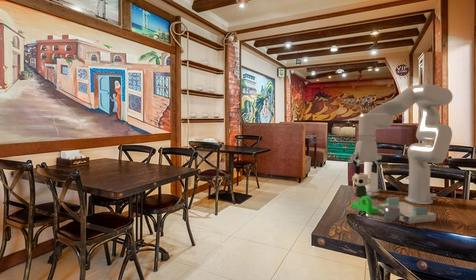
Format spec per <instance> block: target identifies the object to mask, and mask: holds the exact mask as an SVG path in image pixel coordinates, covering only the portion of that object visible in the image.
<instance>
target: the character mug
mask: <svg viewBox="0 0 476 280" xmlns="http://www.w3.org/2000/svg"><path fill="white" fill-rule="evenodd" d="M351 180H352V182H354V183H353V184H355V191H354V194H355V195H356V196H358V197H362V196H368V194H367V193H368V192H366V187H365V186H366V185H367V184H370V179H369V178H368V174H365V173H364V172H360V174H356V173H354V175H352V179H351ZM355 195H354V196H355Z"/></svg>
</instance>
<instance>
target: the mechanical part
mask: <svg viewBox="0 0 476 280" xmlns="http://www.w3.org/2000/svg"><path fill="white" fill-rule="evenodd" d="M350 206H351V208H354V209H356V210H358V209H359V210H358V211H360V210H362V211H361V212H363V211H365V212H366V213H365V212H364V213H365V214H368V215H370V214H378V213H380V212H379V207H378V208H377V207H374V206H373V201H372V199H371V197H370V195H366V196H360V199H359V201H358V202H351V203H350Z"/></svg>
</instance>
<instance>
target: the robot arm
mask: <svg viewBox="0 0 476 280" xmlns="http://www.w3.org/2000/svg"><path fill="white" fill-rule="evenodd" d="M453 96H454V95H453V93H452V91H451V90H450V89H448V88H446V87H442V86H439V85H435V84H431V83H423V84H416V85H411V86H410V85H409V86H408V87H407V88H405V89H404V90H403V91H402V92H400V93H399V94H398V95H397V96H395V97H394V98H392V99H390V100H388V101H386V102H384V103H382V104H379V105H377V106H375V107H374V108H373V109H371V110H370V111H368V112H367V113H360V115H359V116H358V134H357V135H358V138H357V141H356V143H355V148H354V154H353V155H350V156H349V159H350V162H351V163H352V165H353V166H354V168H353V169H354V170H353V171H354V174H355V173H356V174H360V173H361V172H360V171H361V163H364V162H372V163H373V164H372V169H371V172H373V173H377V165H378V166H379V165H380V162H381V160H382V158H383V156H382V155H381V154H379V153H378V144H377V141H376V140H377V138H378V136H376V133H377V132H376V130H377V129H387V128H390V127H391V126H392V124H393V123H394V119H393V116H396V115H399V114H403V113H405V112H406V111H407V110H409V109H410V108H411V107H413V106H414V105H415V104H416V105H417V107H418V108H419V110H420V111H419V112H420V118H419V122H418V126H417V129H416V134H415V137H416V139H417V140H418V141H421V142H422V143H421V142H416V143H414V142H413V143H412V144H410V145H409V146H408V147H407V158H408V170H409V171H408V194H407V196H405V197H404V200H405V201H407V202H409V203H413V204H417V205H432V204H433V203H434V202H433V201H434V200H433V199H432V198H436V197H437V193H431V191H430V190H431V189H430V188H431V167H430V164H429V163H433V164H441V163H443V162H444V161H445V160H446V158H447V155H448V152H449V149H450V146H451V142H452V138H453V131H452V128H451V126H449V125H447V124H444V123H440V120H441V114H440V112H439V110H438V109H437V107H442V106H448V105H449V104H450V103H451V102H452V101H453ZM424 142H425V143H424ZM426 142H428V143H426Z"/></svg>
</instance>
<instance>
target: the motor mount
mask: <svg viewBox="0 0 476 280" xmlns="http://www.w3.org/2000/svg"><path fill="white" fill-rule="evenodd" d="M378 209H379V211H380V212H382V213H383V221H384V220H386V221H391V222H398V223H399V224H400V221H402V222H404V223H406V224H409V225H410V224H418V223H426V222H427V223H429V222H436V221H437V220H436V218H437V216H436V215H437V214H436V213H434V212H432V211H428V210H429V208H428V207H427V206H419V207H417V206H415V205H412V204H409V203H407V202H403V201H400V197H397V196H395V197H393V196H392V197H386V199H385V203H378Z"/></svg>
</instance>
